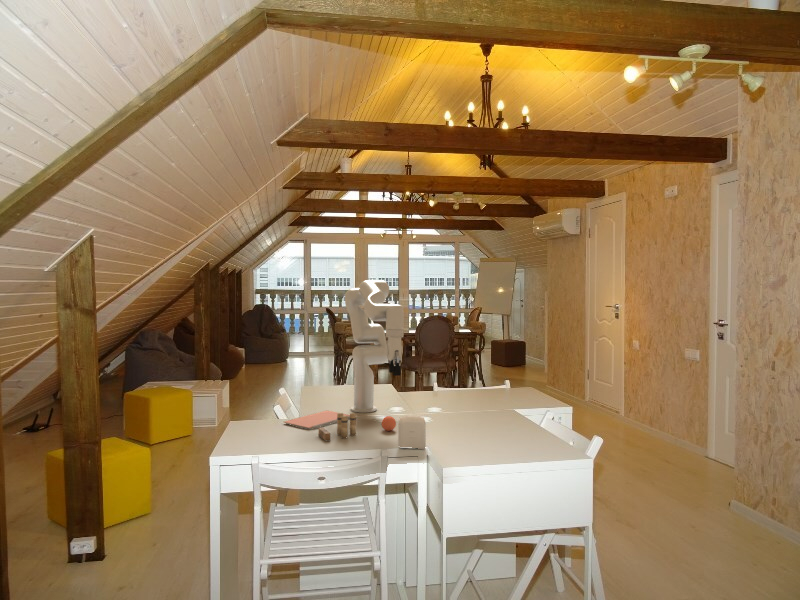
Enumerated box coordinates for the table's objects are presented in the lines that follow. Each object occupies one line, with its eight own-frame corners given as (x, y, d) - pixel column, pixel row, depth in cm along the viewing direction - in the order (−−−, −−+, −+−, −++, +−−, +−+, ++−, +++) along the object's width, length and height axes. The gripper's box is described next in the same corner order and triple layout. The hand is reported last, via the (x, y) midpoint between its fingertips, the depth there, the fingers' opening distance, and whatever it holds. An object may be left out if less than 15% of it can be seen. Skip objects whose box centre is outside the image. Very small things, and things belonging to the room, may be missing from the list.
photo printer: (398, 449, 198) (398, 416, 198) (398, 446, 202) (398, 413, 202) (425, 450, 198) (426, 416, 197) (425, 446, 202) (425, 414, 202)
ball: (379, 429, 225) (379, 415, 225) (392, 428, 228) (392, 414, 228) (385, 433, 220) (385, 418, 220) (398, 431, 222) (398, 417, 222)
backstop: (318, 435, 215) (318, 428, 215) (323, 434, 216) (323, 427, 216) (325, 441, 207) (325, 433, 207) (330, 440, 208) (330, 433, 208)
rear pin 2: (340, 437, 213) (340, 415, 213) (346, 436, 214) (346, 415, 214) (342, 438, 211) (342, 417, 211) (348, 438, 212) (348, 416, 212)
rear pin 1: (336, 433, 218) (336, 413, 218) (342, 433, 219) (342, 412, 219) (338, 435, 216) (338, 414, 215) (344, 434, 217) (344, 414, 216)
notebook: (310, 432, 222) (310, 427, 222) (283, 425, 232) (283, 421, 232) (353, 419, 244) (353, 415, 244) (326, 413, 254) (326, 409, 254)
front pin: (348, 434, 218) (349, 413, 217) (354, 433, 219) (354, 412, 218) (350, 435, 215) (351, 414, 215) (356, 435, 216) (356, 414, 216)
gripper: (383, 332, 235) (383, 371, 235) (389, 335, 218) (389, 377, 217) (399, 332, 236) (399, 371, 236) (407, 334, 219) (407, 376, 219)
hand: (394, 373), depth 227 cm, fingers open, 9 cm apart
